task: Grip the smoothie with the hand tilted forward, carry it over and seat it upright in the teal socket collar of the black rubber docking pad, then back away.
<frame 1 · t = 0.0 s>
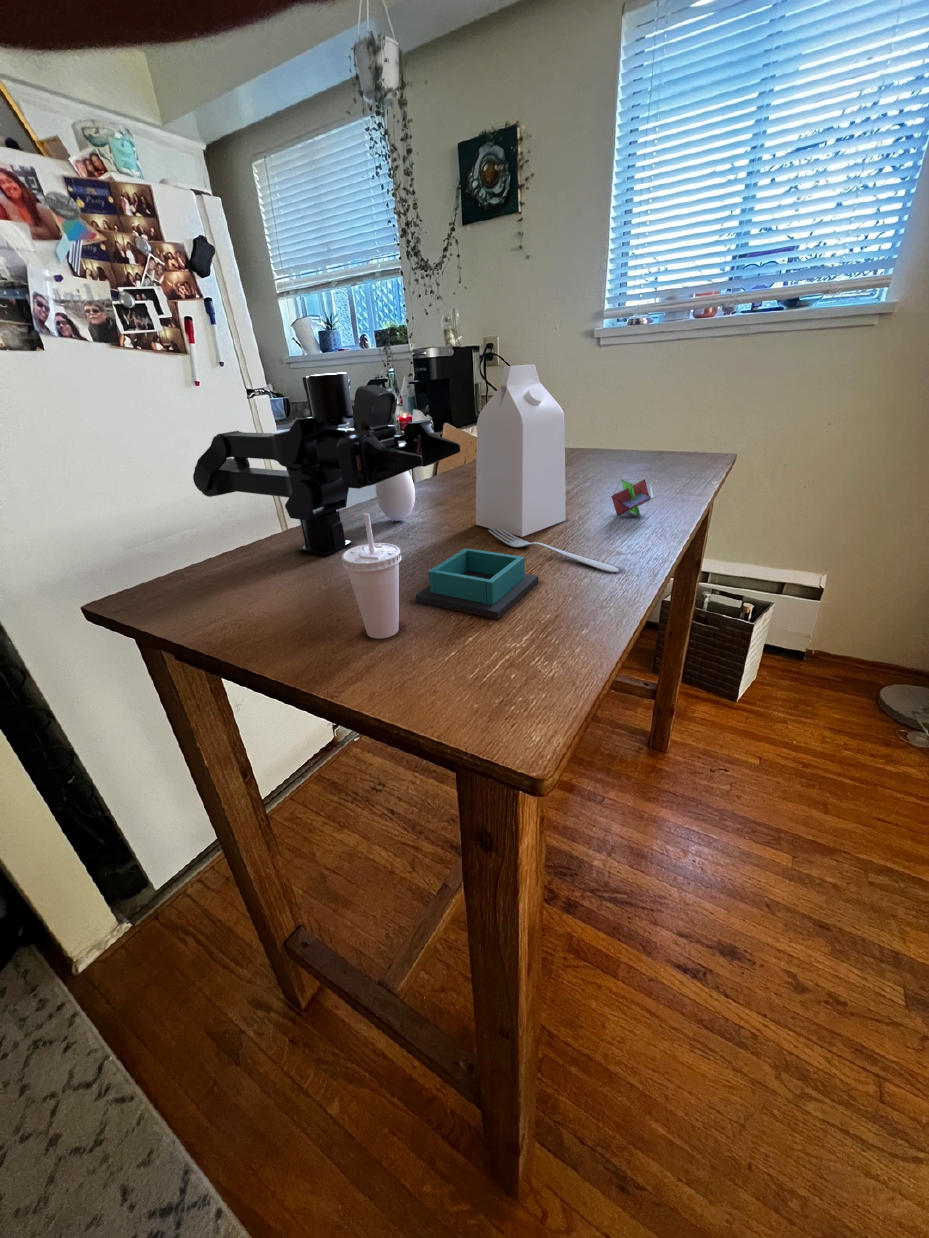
hand: (441, 454, 66), 17 cm above the table, tool horizontal, fingers open, 9 cm apart
fork: (549, 554, 78), on the table
milk: (520, 523, 93), on the table
dock pad: (478, 591, 67), on the table
egg: (398, 521, 99), on the table
geometric puzzle: (629, 516, 93), on the table
smoothie: (383, 632, 59), on the table
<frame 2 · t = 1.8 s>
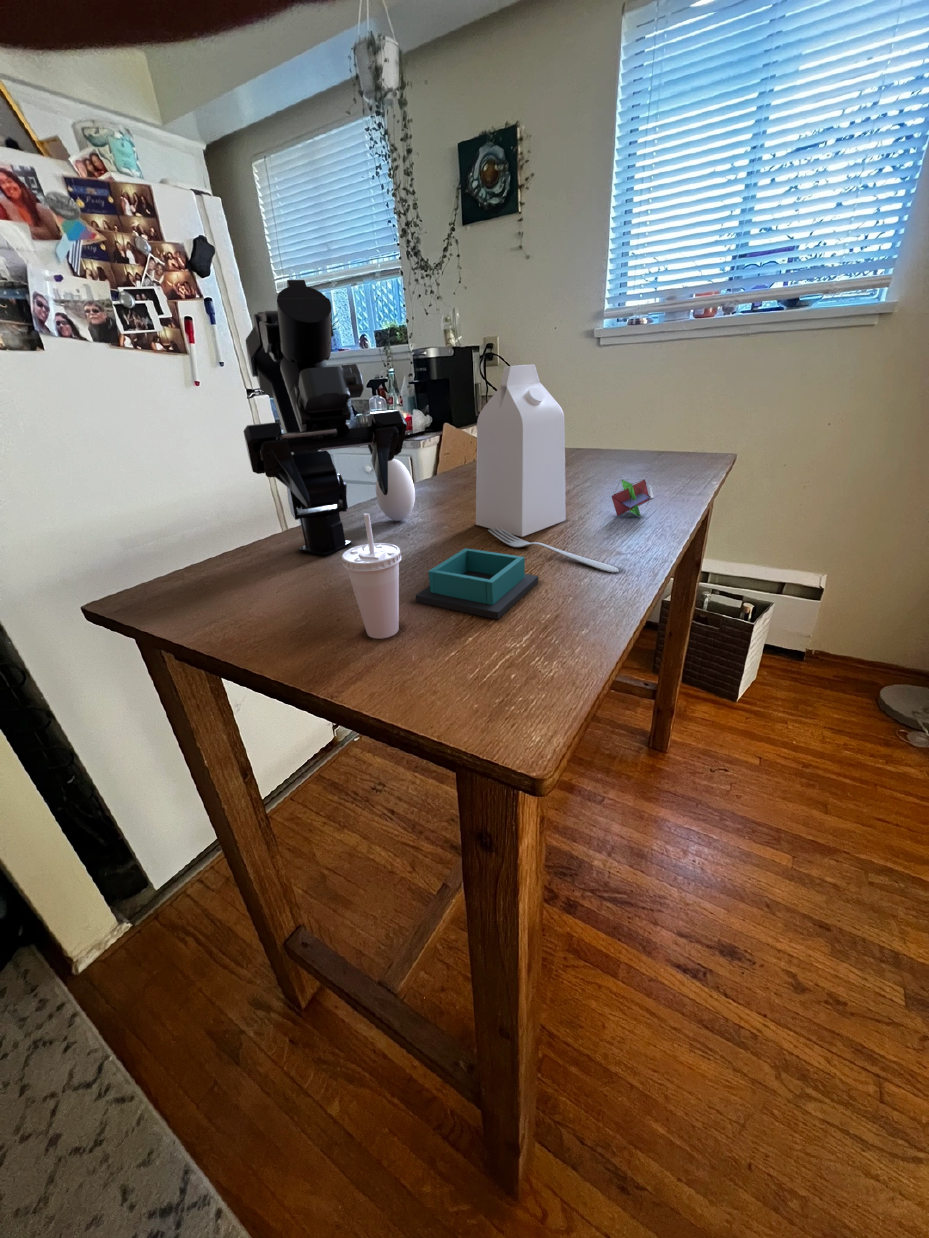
hand: (348, 499, 59), 14 cm above the table, tool tilted 45°, fingers open, 9 cm apart
nothing on the table moved.
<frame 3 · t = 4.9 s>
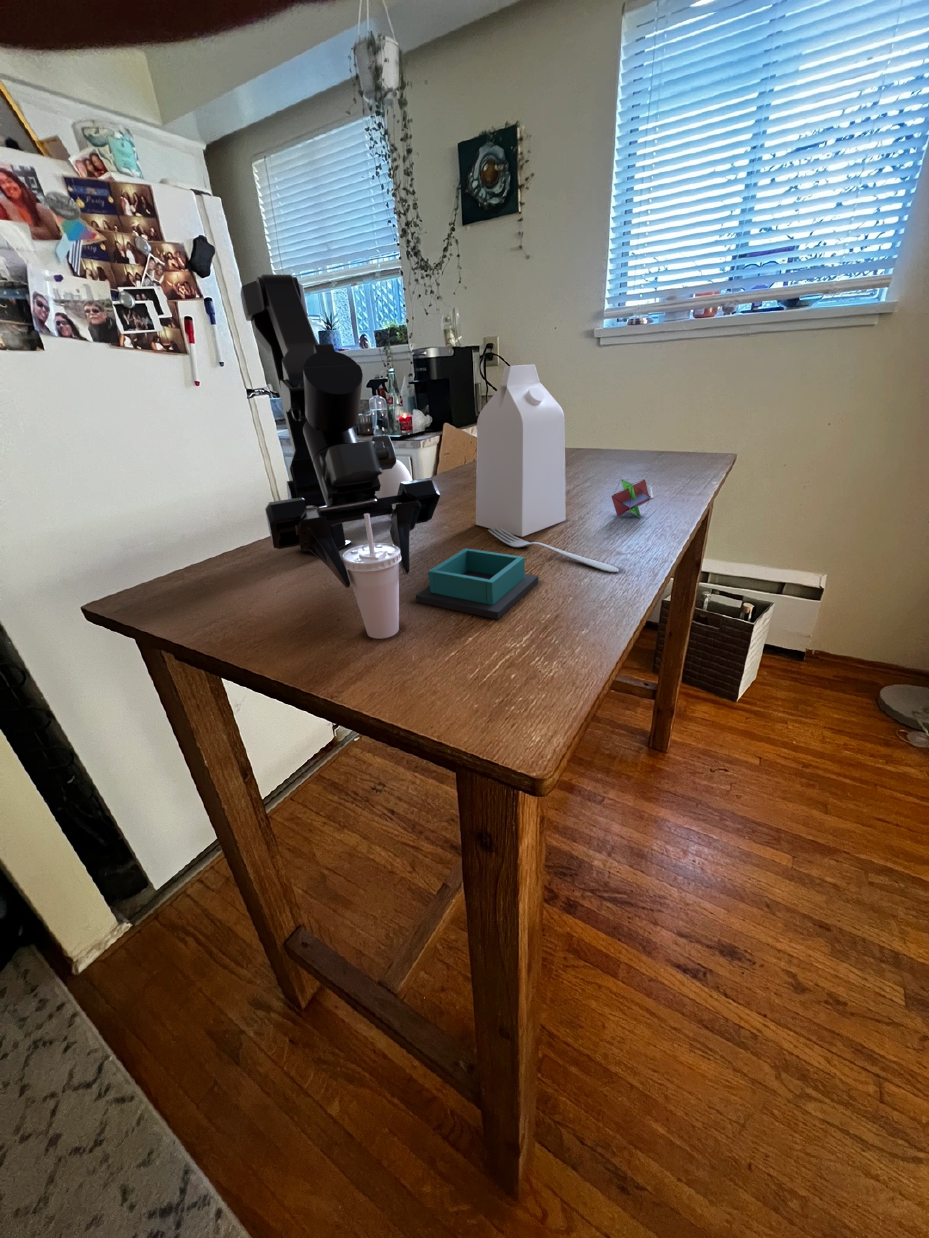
hand: (378, 579, 54), 7 cm above the table, tool tilted 45°, fingers closed on smoothie, 6 cm apart
smoothie: (383, 632, 59), on the table, touching gripper
everything else where it was.
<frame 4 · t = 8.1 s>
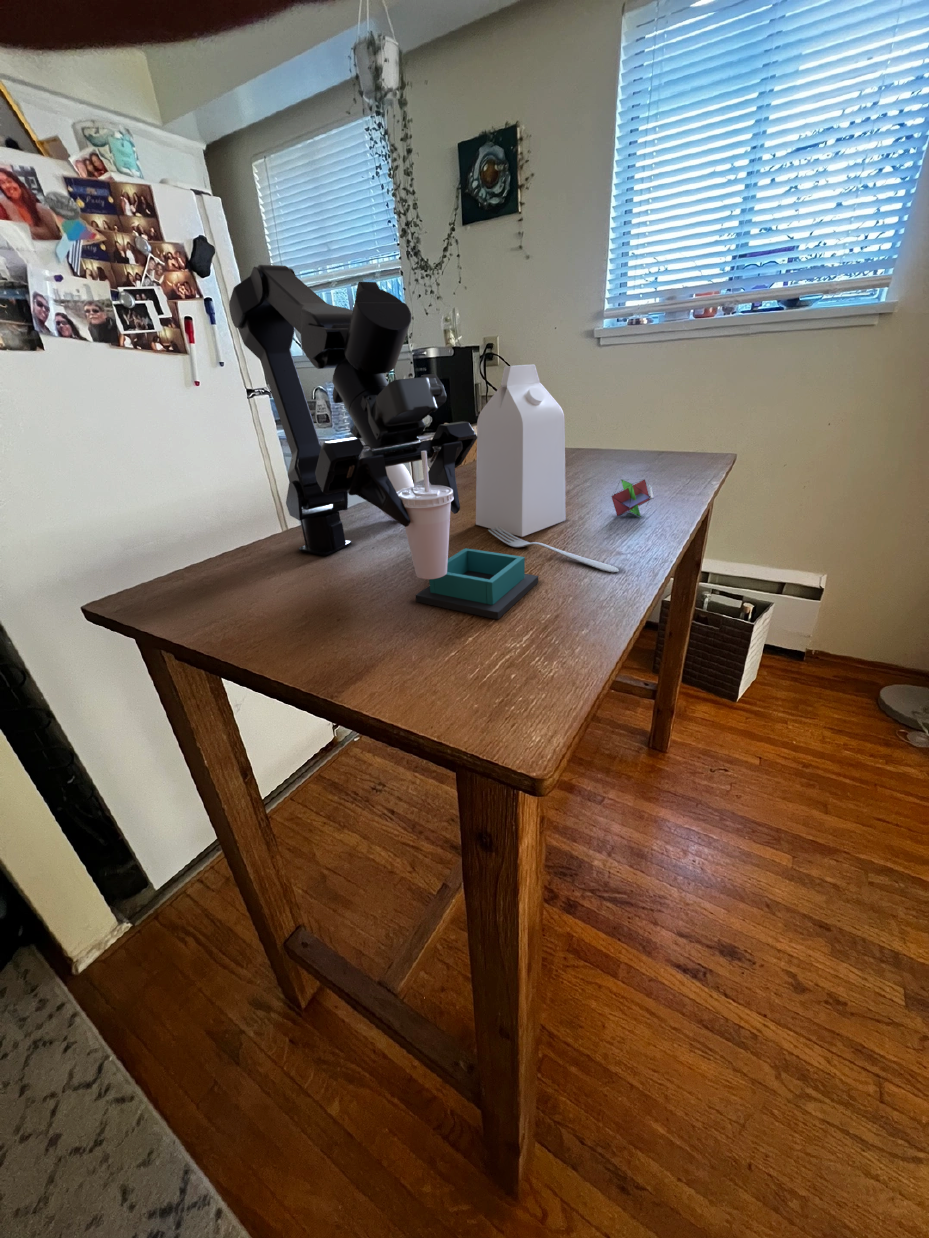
hand: (433, 517, 55), 12 cm above the table, tool tilted 45°, fingers closed on smoothie, 6 cm apart
smoothie: (431, 574, 60), point 5 cm above the table, touching gripper
everything else where it was.
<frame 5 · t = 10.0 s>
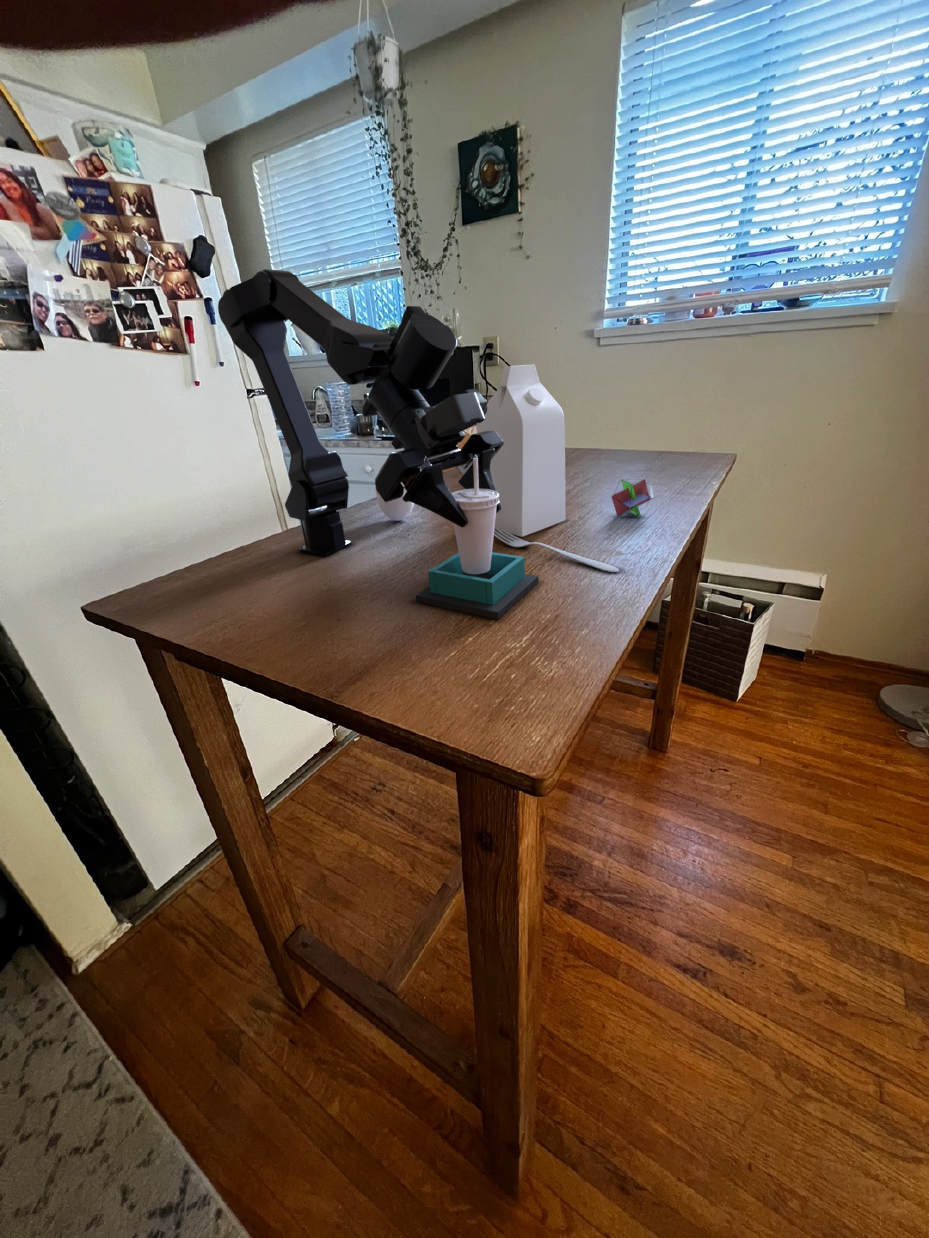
hand: (482, 518, 61), 10 cm above the table, tool tilted 45°, fingers closed on smoothie, 6 cm apart
smoothie: (476, 570, 65), point 3 cm above the table, touching gripper
everything else where it was.
when the fingers open (8 cm above the table, at t = 11.3 s): smoothie stays where it is, resting on dock pad.
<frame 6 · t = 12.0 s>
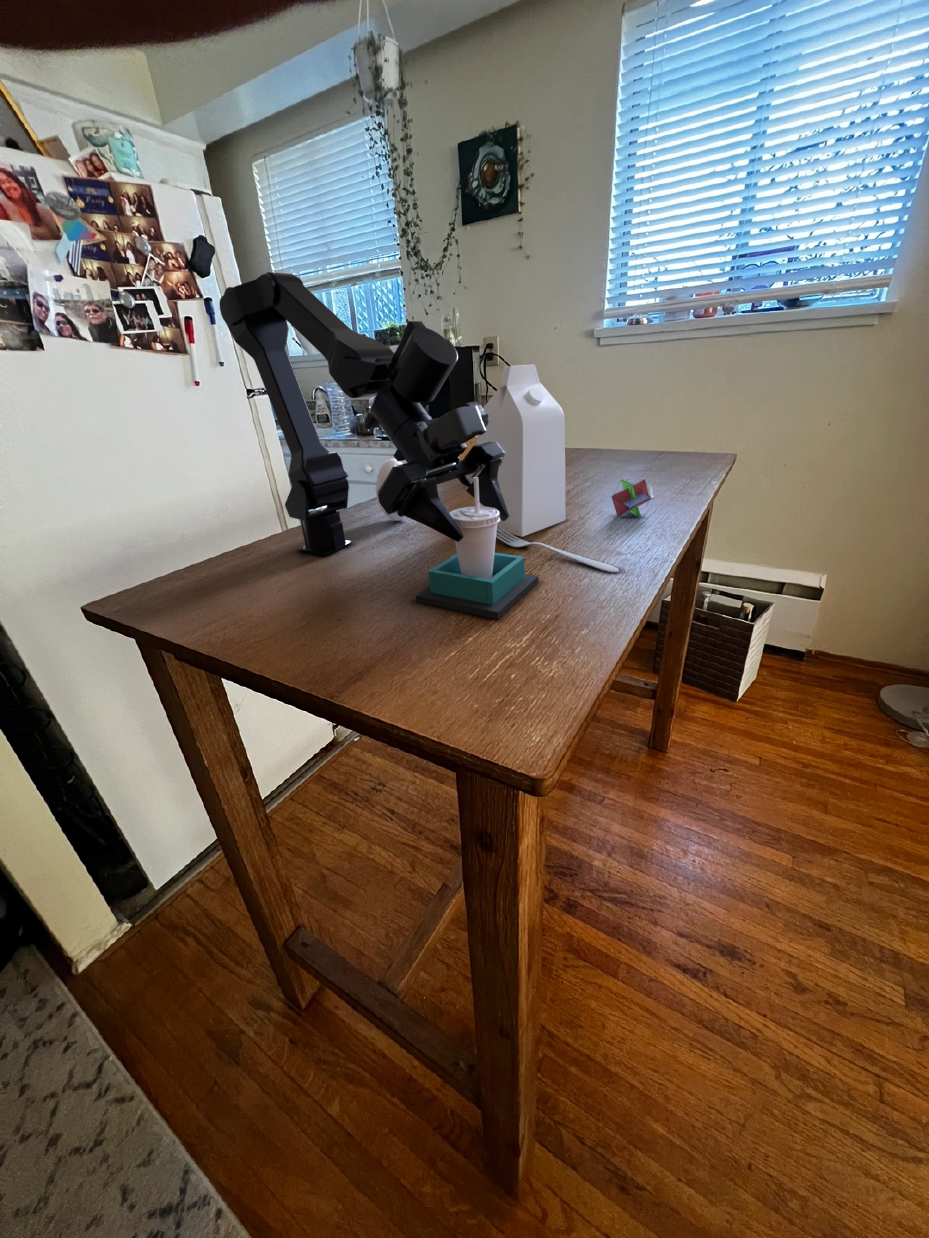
hand: (484, 528, 62), 9 cm above the table, tool tilted 45°, fingers open, 9 cm apart
smoothie: (477, 586, 66), point 1 cm above the table, touching dock pad
everything else where it was.
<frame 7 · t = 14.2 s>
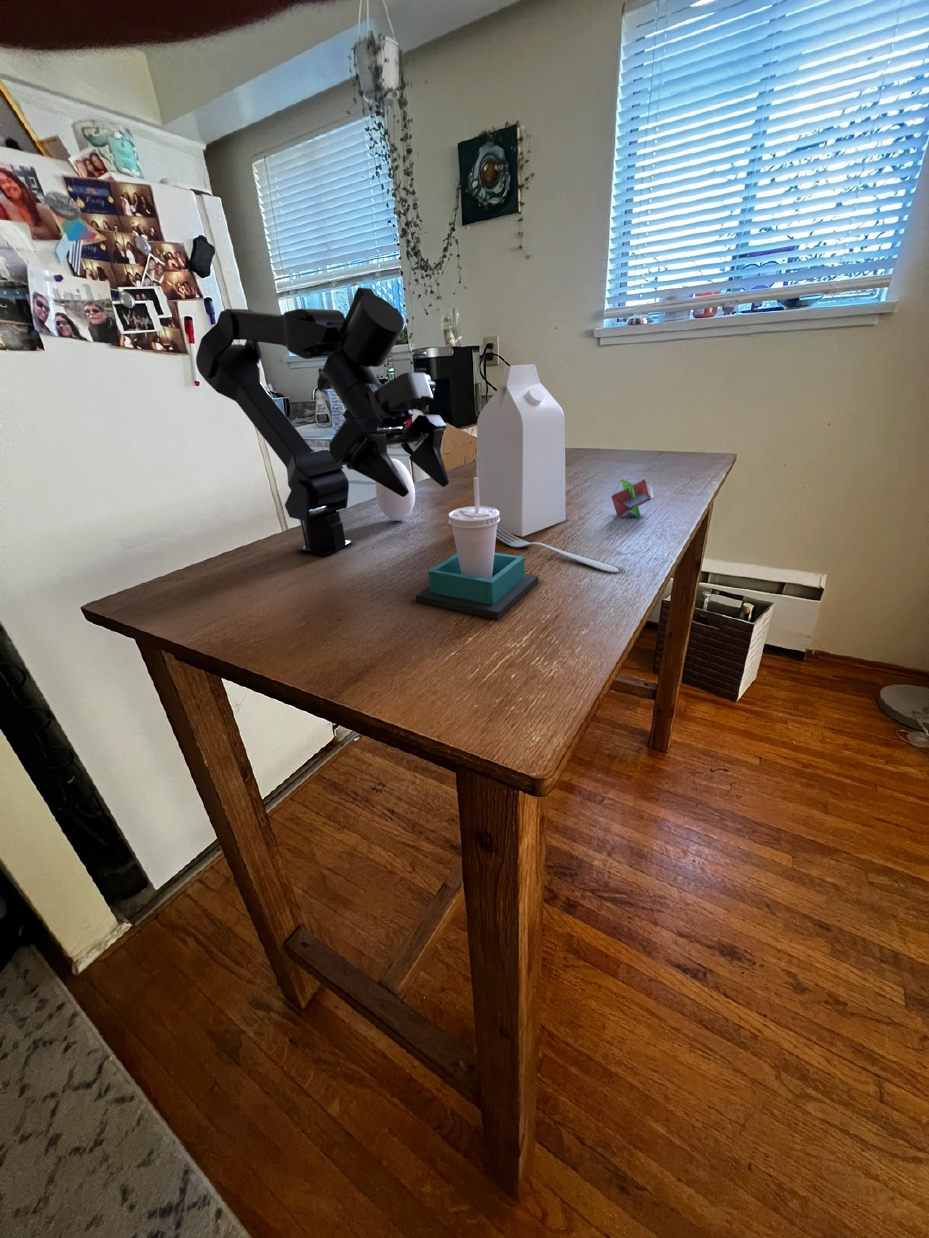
hand: (427, 489, 67), 12 cm above the table, tool tilted 40°, fingers open, 9 cm apart
nothing on the table moved.
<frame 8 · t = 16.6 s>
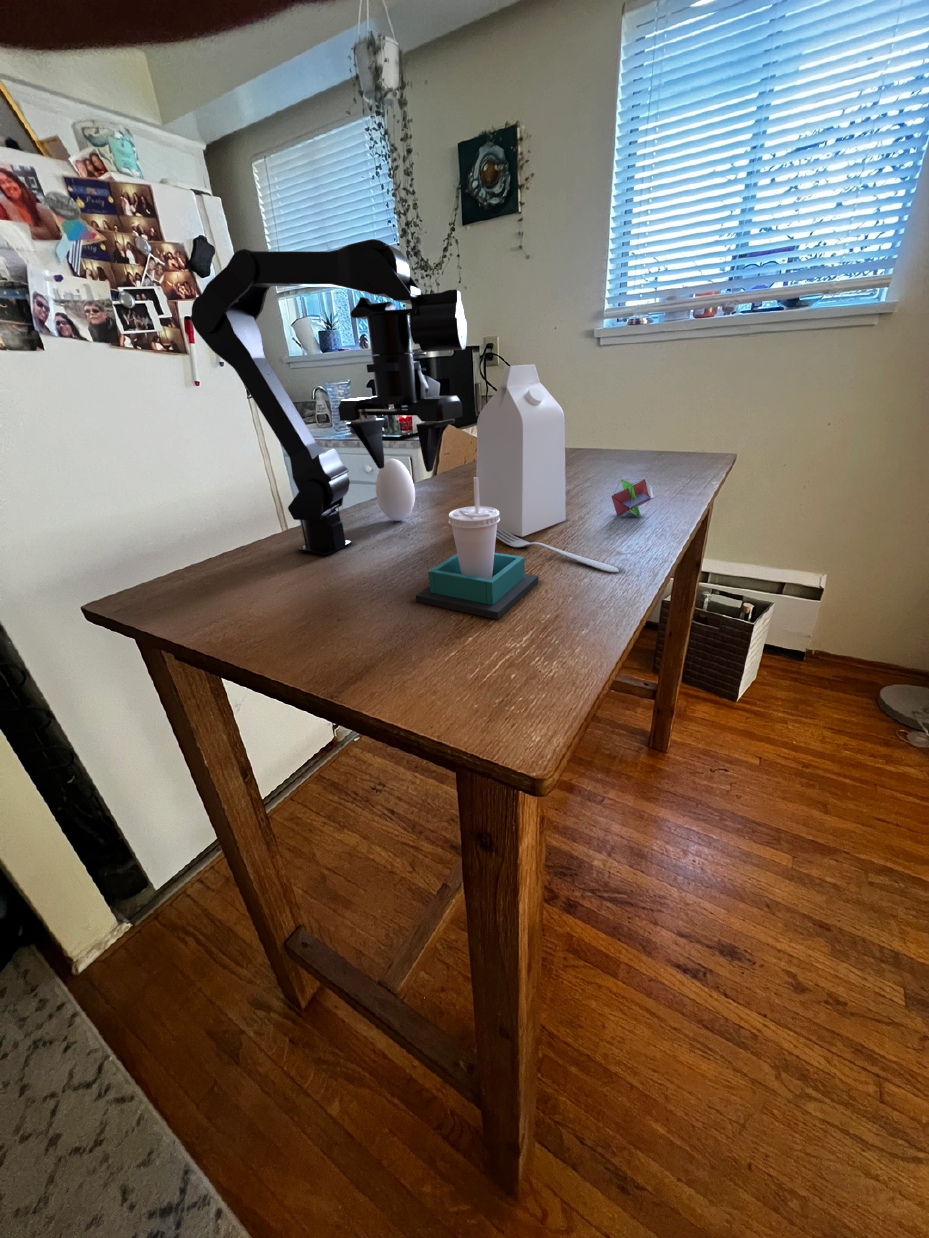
hand: (404, 469, 77), 13 cm above the table, tool pointing down, fingers open, 9 cm apart
nothing on the table moved.
at the end: smoothie 0.2 cm off-centre on the dock pad, point 0.8 cm above the dock pad's base; smoothie tilted 0°; the gripper is holding nothing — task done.
